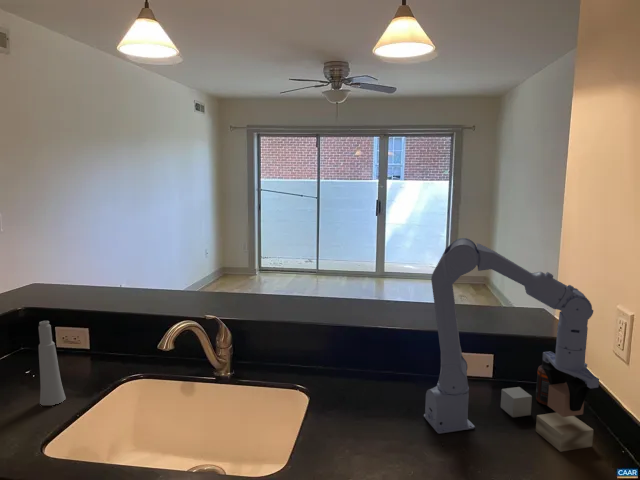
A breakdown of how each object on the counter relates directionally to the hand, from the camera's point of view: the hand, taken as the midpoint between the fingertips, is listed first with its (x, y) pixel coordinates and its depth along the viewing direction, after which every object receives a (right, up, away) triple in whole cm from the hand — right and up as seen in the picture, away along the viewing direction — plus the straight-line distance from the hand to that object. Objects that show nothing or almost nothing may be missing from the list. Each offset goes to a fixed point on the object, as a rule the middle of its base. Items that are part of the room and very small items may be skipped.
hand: (566, 403), depth 105 cm
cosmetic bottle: (-125, -7, +20) cm, 127 cm away
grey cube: (-6, -7, +13) cm, 16 cm away
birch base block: (0, -8, +1) cm, 8 cm away
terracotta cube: (0, -1, 0) cm, 2 cm away
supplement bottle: (+5, -6, +18) cm, 19 cm away
